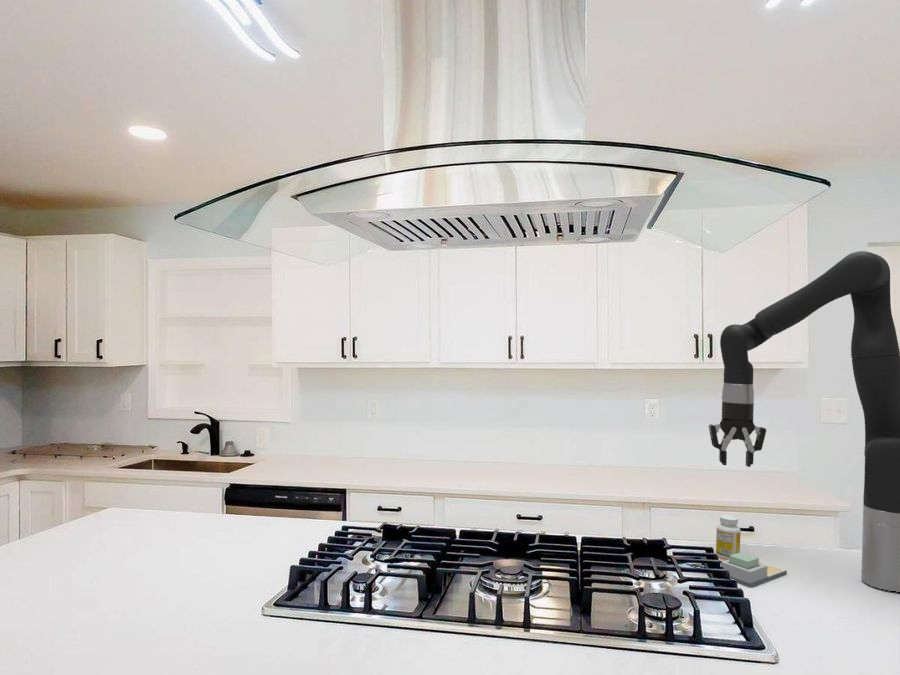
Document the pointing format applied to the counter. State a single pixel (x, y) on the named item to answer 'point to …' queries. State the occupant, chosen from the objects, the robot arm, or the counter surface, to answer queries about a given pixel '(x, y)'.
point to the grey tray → (750, 573)
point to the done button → (744, 560)
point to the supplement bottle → (727, 537)
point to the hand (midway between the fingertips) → (736, 465)
